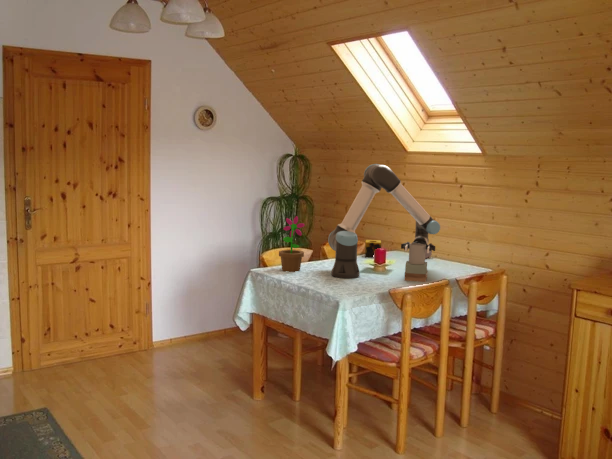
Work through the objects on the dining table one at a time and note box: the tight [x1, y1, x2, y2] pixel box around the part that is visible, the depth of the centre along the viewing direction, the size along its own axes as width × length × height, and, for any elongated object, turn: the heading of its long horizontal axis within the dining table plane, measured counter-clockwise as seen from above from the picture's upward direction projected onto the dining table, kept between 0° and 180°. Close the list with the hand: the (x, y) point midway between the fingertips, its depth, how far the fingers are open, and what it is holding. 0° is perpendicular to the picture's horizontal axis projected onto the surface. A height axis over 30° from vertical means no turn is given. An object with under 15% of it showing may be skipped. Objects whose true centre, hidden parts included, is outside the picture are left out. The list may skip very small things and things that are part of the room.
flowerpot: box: [278, 215, 305, 273], centre depth 352 cm, size 14×14×30 cm
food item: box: [425, 250, 433, 260], centre depth 400 cm, size 14×8×10 cm, turn 134°
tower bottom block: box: [404, 272, 428, 283], centre depth 339 cm, size 11×11×4 cm
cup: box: [408, 242, 426, 265], centre depth 337 cm, size 8×8×10 cm
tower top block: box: [404, 260, 428, 274], centre depth 338 cm, size 11×11×4 cm
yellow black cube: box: [364, 239, 382, 258], centre depth 402 cm, size 10×10×10 cm
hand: (416, 249), depth 333 cm, fingers open, 11 cm apart
